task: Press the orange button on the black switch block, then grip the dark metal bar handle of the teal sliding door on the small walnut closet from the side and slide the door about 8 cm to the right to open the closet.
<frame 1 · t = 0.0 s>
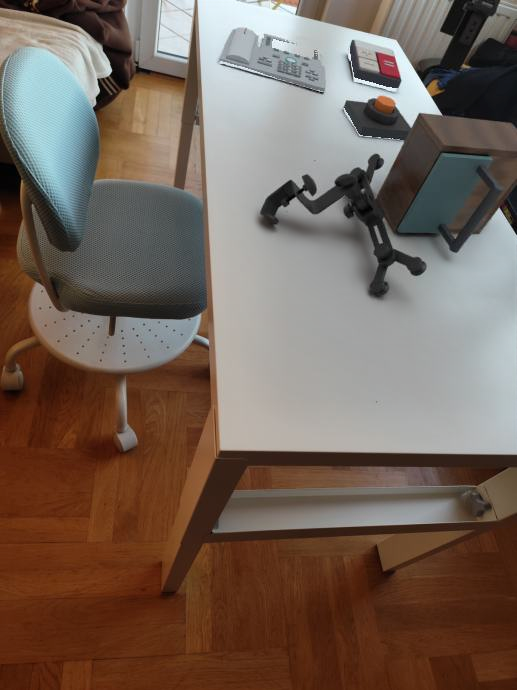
hand: (448, 50, 69), 24 cm above the table, tool pointing down, fingers open, 13 cm apart
sliding door: (451, 208, 74), point 8 cm above the table, slide at 0.0 cm
closet: (429, 220, 85), on the table
switch block: (375, 125, 102), on the table
button panel: (370, 74, 118), on the table
light button: (384, 105, 99), point 4 cm above the table, slide at 0.1 cm
office telephone: (274, 61, 110), on the table
tablet mount: (322, 232, 76), on the table
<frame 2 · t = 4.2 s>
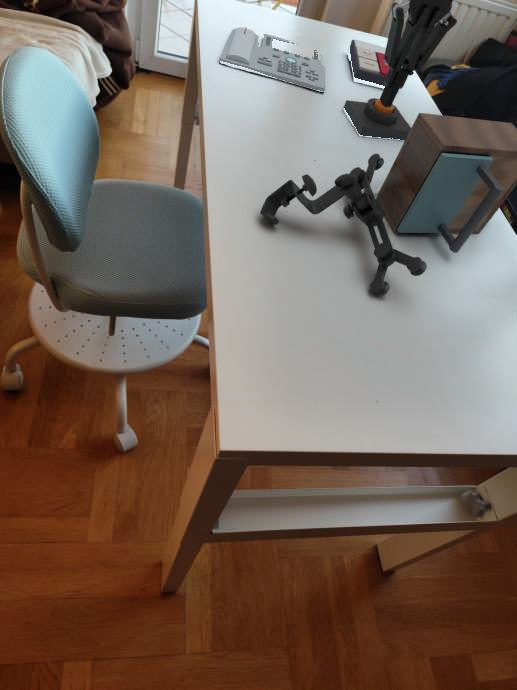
hand: (385, 102, 98), 5 cm above the table, tool pointing down, fingers closed
light button: (383, 108, 99), point 4 cm above the table, slide at -0.6 cm, touching gripper
everything else where it was.
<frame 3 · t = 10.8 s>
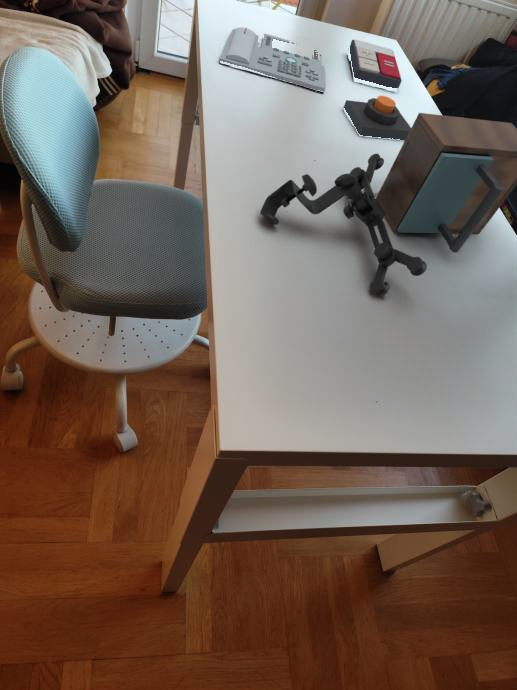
light button: (384, 105, 99), point 4 cm above the table, slide at 0.1 cm
everything else where it was.
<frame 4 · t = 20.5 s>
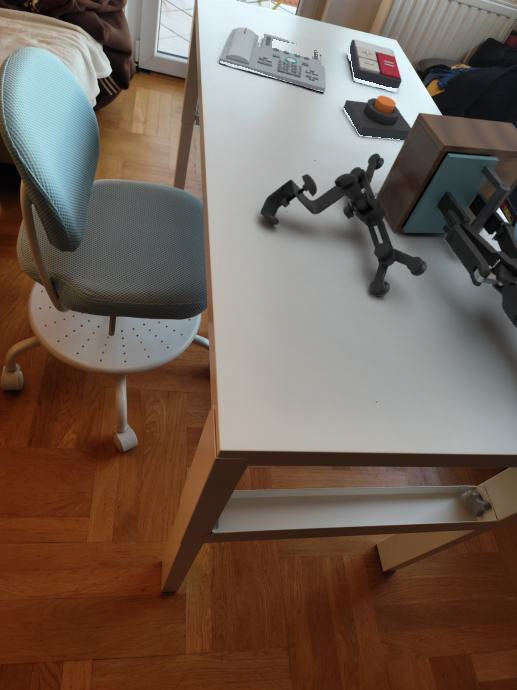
hand: (459, 199, 76), 8 cm above the table, tool horizontal, fingers closed on sliding door, 5 cm apart
sliding door: (457, 208, 74), point 8 cm above the table, slide at 1.1 cm, touching gripper
everything else where it was.
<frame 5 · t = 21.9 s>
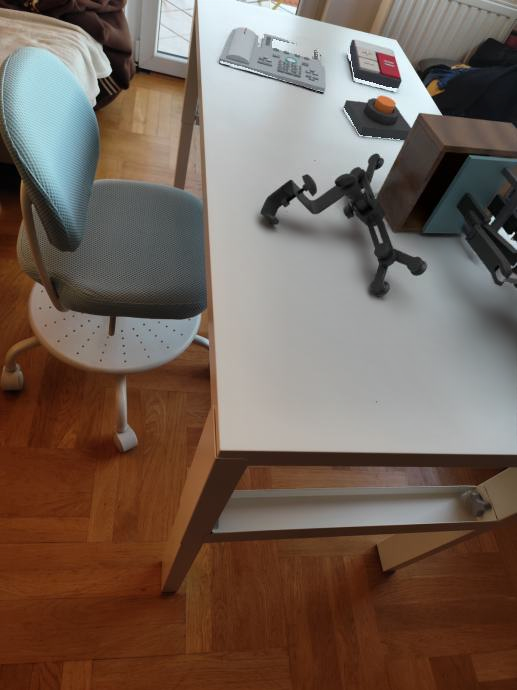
hand: (478, 200, 77), 8 cm above the table, tool horizontal, fingers closed on sliding door, 5 cm apart
sliding door: (476, 209, 75), point 8 cm above the table, slide at 4.9 cm, touching gripper
everything else where it was.
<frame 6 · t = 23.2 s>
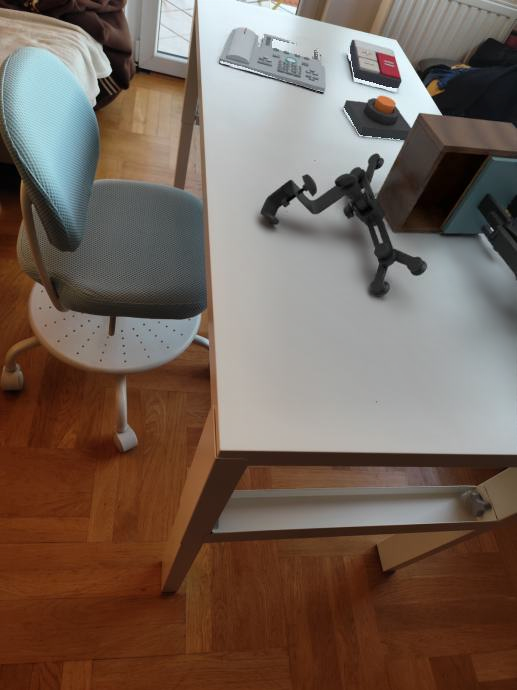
hand: (498, 201, 79), 8 cm above the table, tool horizontal, fingers closed on sliding door, 5 cm apart
sliding door: (497, 210, 77), point 8 cm above the table, slide at 9.0 cm, touching gripper
everything else where it was.
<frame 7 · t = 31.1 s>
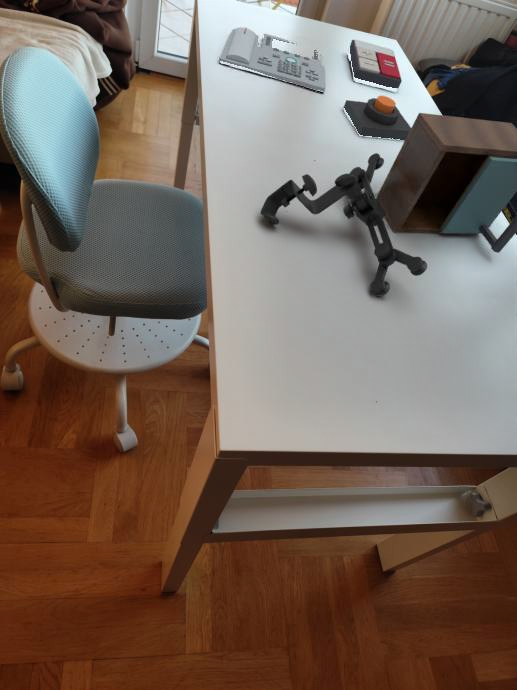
sliding door: (495, 210, 77), point 8 cm above the table, slide at 8.6 cm
everything else where it was.
at the end: light button pushed in 1.0 cm at the most during the clip, back to where it started at the end; light button slide at 0.1 cm; sliding door slide at 8.6 cm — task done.
